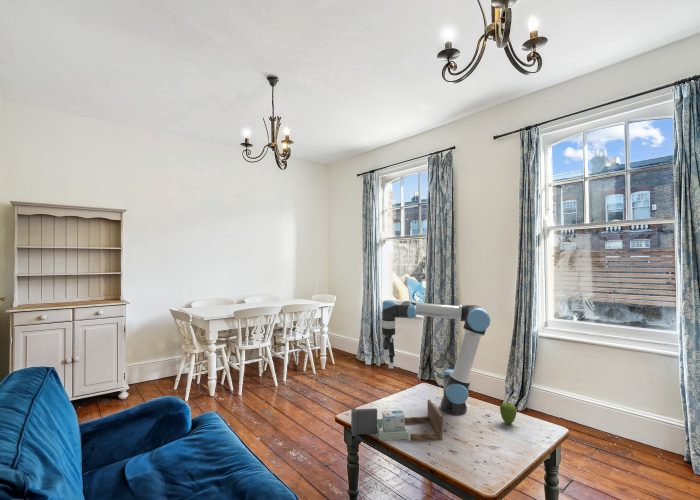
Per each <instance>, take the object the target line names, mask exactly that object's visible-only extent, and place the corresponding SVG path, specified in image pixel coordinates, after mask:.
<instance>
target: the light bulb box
mask: <svg viewBox="0 0 700 500" xmlns="http://www.w3.org/2000/svg"><path fill="white" fill-rule="evenodd" d="M381 413H382V418H381V419H382V425H383V426H382V432H401V431H405V427H406V424H405V417H406V415H405V414H404V412H403V410H402V409H395V410H382V412H381Z"/></svg>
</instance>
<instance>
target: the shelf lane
mask: <svg viewBox="0 0 700 500" xmlns="http://www.w3.org/2000/svg"><path fill="white" fill-rule="evenodd" d="M438 409H439V408H437V407H436V405H434V403H433V402H432V401H431V400H430V399H427V416H408V417H407V416H405V425H408V424H409V425H410V424H429V426H430V427H431V429H432V430H433V431H434V432H419V433H418V432H415V433H410V434H409V437H410V438H409V439H410V442H416V441H417V442H419V441H433V440H435V441H436V440H439V441H440V440H443V430H444V429H443V423H444V422H443V417H444V416H443V414H442V413H441V412H440V411H439V410H438Z"/></svg>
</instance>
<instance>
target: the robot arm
mask: <svg viewBox="0 0 700 500" xmlns="http://www.w3.org/2000/svg"><path fill="white" fill-rule="evenodd" d="M381 307H382V308H381V315H382V316H381V317H382V320H381V322H380V323H381V325H382V328H381V334H382V335H383V343H382V347H383V361H384V362H388V369H394V367H395V362H394V360H395V359H394V358H395V356H396V354H395V343H394V339H395V338H393V336H395V335H396V318H397V319H398V318H400V319H402V318H403V319H416V318H417V316H423V317H434V318H443V319H454V320H458V321H459V322H464V323H463V327H462V328H463V330H464V334H463V338H462V340H461V344H460V347H459V351H458V355H457V358H456V361H455V365H454V367H453V369H444V371H443V374H442V376H443V395H442V398H441V401H440V404H439V405H440V407H439V408H440V410H441V411H442V412H444V413H445V414H449V415H452V416H460V415H465V414H466V413H467V412H468V411H467V410H468V409H467V408H468V406H467V404H466V402H467V400H468V398H469V388H470V384H471V380H470V373H471V371H472V367H473V364H474V361H475V356H476V355H477V351H478V347H479V344H480V340H481V338H482V337H483V336H485V334H486V331H487V329H488V328H489V327H490V325H491V316H490V314H489V313H488V311H487V310H485V309H484V308H483V307H481V306H480V305H476V304H458V305H449V304H448V305H447V304H437V303H435V304H434V303H425V302H413V301H409V300H405V301H403V302H402V303H401V304H396V301H395V300H384V301H382V306H381Z"/></svg>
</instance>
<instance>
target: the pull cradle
mask: <svg viewBox="0 0 700 500" xmlns="http://www.w3.org/2000/svg"><path fill="white" fill-rule="evenodd" d="M350 412H351V417H350V418H351V420H350V421H351V423H350V424H351V425H350V426H351V436H352V437H356V436H357V435H372V434H376V435H377V437H378V439H379V441H393V440H394V441H395V440H397V441H398V440H409V431H408V428H407V427H406V426H405V431H401V432H383V431H381V429H380V427H383V425H382V418H378V409H377V408H357V409H356V408H355V407H352V408H351V411H350Z"/></svg>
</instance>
